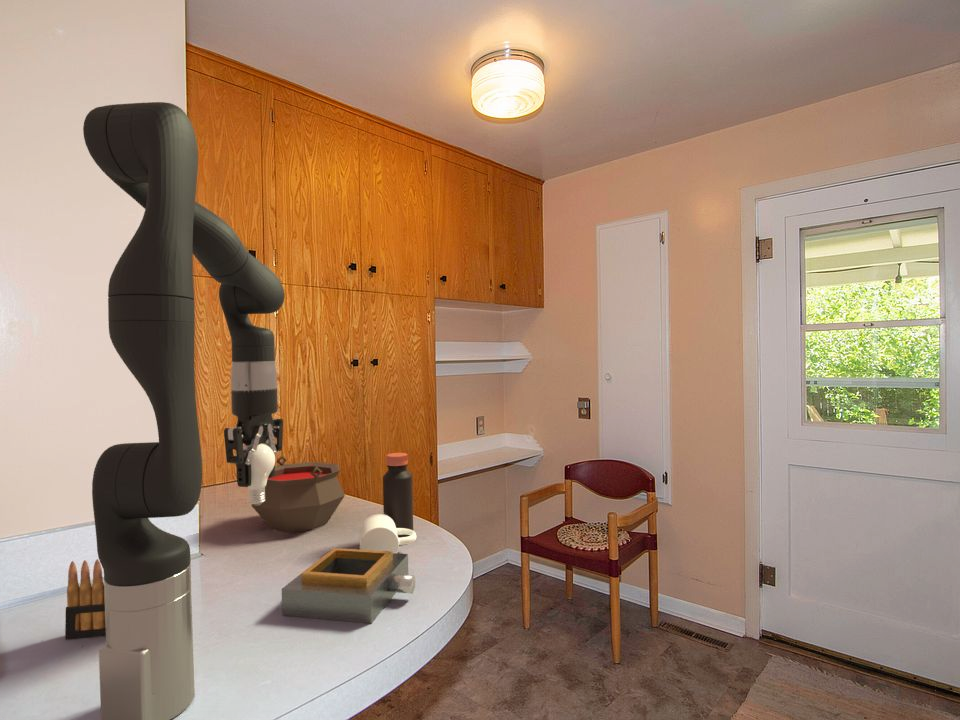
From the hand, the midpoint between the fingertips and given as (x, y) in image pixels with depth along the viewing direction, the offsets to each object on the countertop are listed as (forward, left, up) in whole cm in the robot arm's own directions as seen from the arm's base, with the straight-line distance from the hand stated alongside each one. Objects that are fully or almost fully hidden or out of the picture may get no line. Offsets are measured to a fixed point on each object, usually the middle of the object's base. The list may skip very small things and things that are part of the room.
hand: (256, 481), depth 96 cm
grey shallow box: (+5, -17, -21) cm, 28 cm away
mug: (+24, -15, -22) cm, 36 cm away
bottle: (+33, -14, -22) cm, 42 cm away
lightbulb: (0, 0, -4) cm, 4 cm away
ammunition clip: (-14, +18, -22) cm, 32 cm away
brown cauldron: (+41, +16, -22) cm, 49 cm away
